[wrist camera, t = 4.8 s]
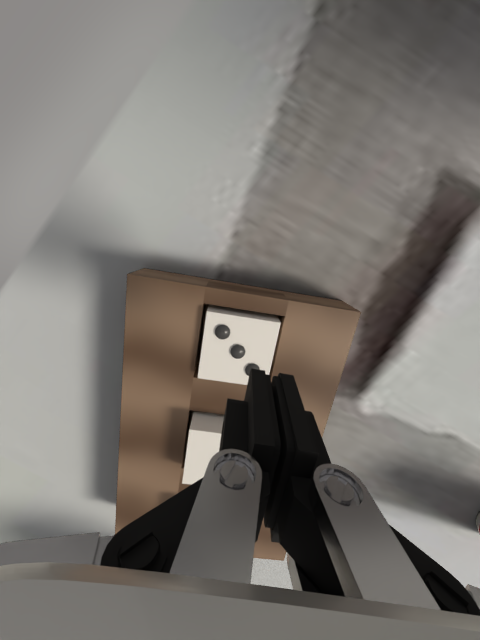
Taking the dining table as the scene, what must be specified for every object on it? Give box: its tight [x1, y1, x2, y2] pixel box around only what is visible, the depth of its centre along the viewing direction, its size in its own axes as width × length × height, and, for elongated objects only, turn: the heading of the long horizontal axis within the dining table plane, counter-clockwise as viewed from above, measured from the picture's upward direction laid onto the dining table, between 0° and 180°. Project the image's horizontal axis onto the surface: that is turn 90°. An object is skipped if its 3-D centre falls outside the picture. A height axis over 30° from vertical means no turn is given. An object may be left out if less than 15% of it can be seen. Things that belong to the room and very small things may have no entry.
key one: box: [182, 411, 224, 485], centre depth 19 cm, size 4×4×3 cm
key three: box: [198, 304, 281, 385], centre depth 18 cm, size 4×4×3 cm
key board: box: [115, 268, 361, 561], centre depth 21 cm, size 22×14×3 cm, turn 170°
